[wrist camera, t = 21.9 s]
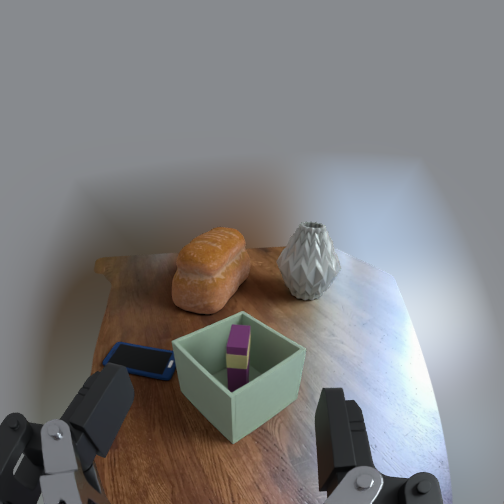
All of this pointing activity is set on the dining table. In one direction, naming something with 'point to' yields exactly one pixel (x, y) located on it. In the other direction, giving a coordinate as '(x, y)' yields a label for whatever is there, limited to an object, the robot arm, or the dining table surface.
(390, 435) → the dining table surface
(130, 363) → the cell phone
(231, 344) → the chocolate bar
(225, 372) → the open storage box
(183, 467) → the dining table surface
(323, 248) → the vase
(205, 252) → the bread
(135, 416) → the dining table surface
